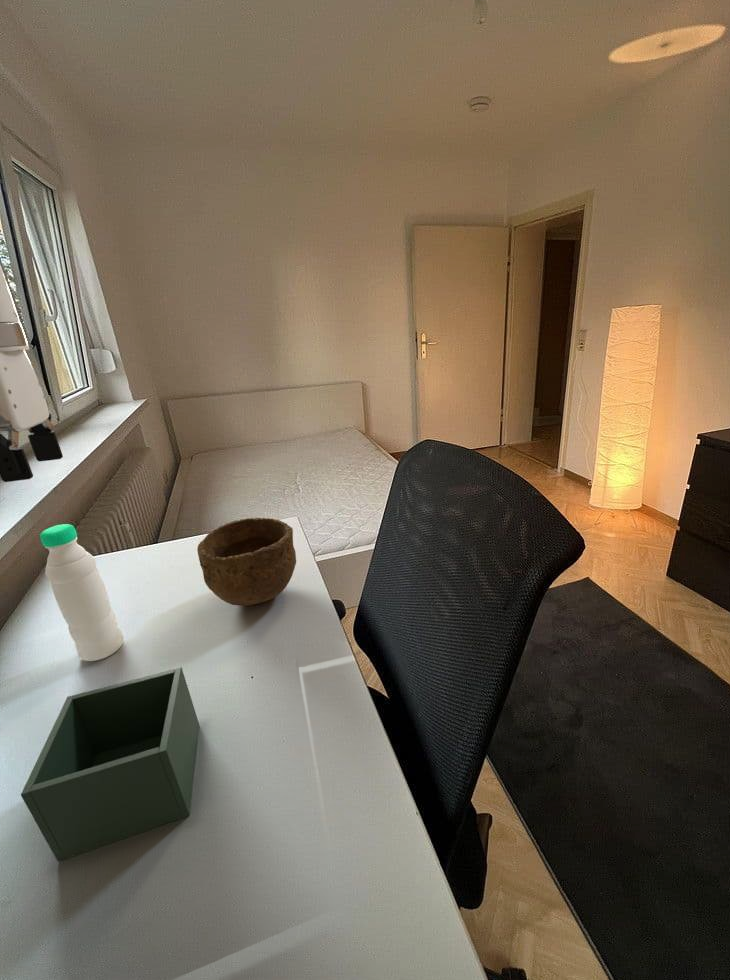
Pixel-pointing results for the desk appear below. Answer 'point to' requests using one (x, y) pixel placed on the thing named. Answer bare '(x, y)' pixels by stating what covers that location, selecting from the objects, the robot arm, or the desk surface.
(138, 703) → the green storage bin
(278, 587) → the bowl
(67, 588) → the water bottle
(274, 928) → the desk surface
